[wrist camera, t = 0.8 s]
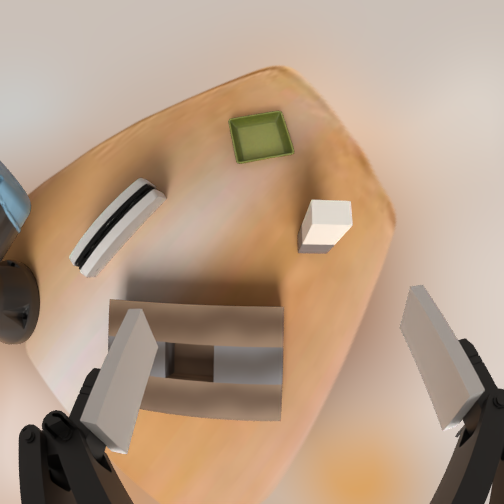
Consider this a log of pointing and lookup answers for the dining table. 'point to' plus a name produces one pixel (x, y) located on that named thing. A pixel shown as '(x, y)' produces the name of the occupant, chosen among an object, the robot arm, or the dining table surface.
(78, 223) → the dining table surface
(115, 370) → the robot arm
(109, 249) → the grey curved slotted block
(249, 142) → the olive green shallow tray
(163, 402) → the post foot
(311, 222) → the rail end
